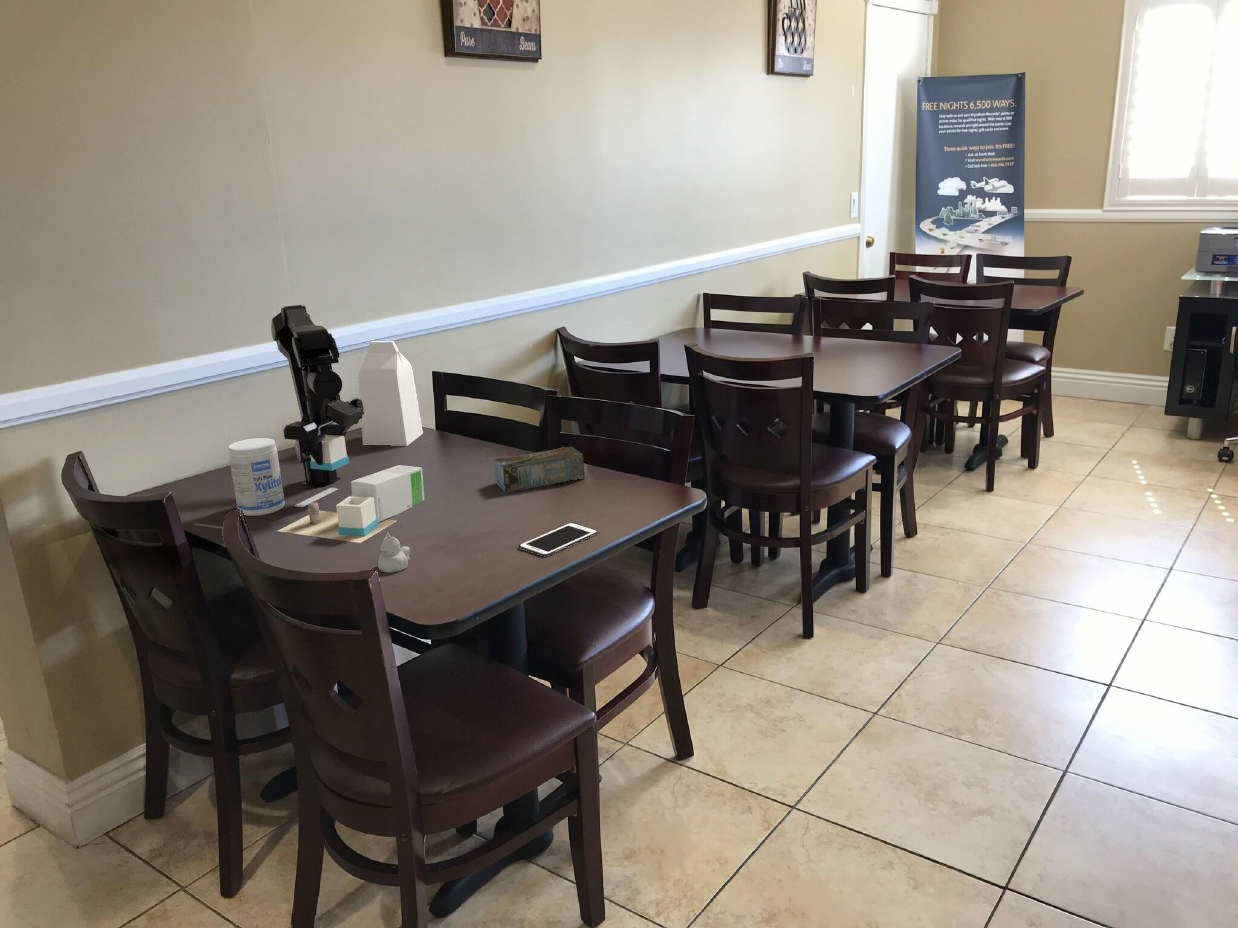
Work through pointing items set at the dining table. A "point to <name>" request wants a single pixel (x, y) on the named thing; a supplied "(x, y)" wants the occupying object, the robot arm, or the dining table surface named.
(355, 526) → the sleeve
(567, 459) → the beverage carton
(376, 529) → the pin board
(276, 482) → the supplement tub
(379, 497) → the skincare box
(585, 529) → the cell phone
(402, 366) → the milk
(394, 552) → the white figurine
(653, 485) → the dining table surface
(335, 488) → the mat
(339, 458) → the sleeve
